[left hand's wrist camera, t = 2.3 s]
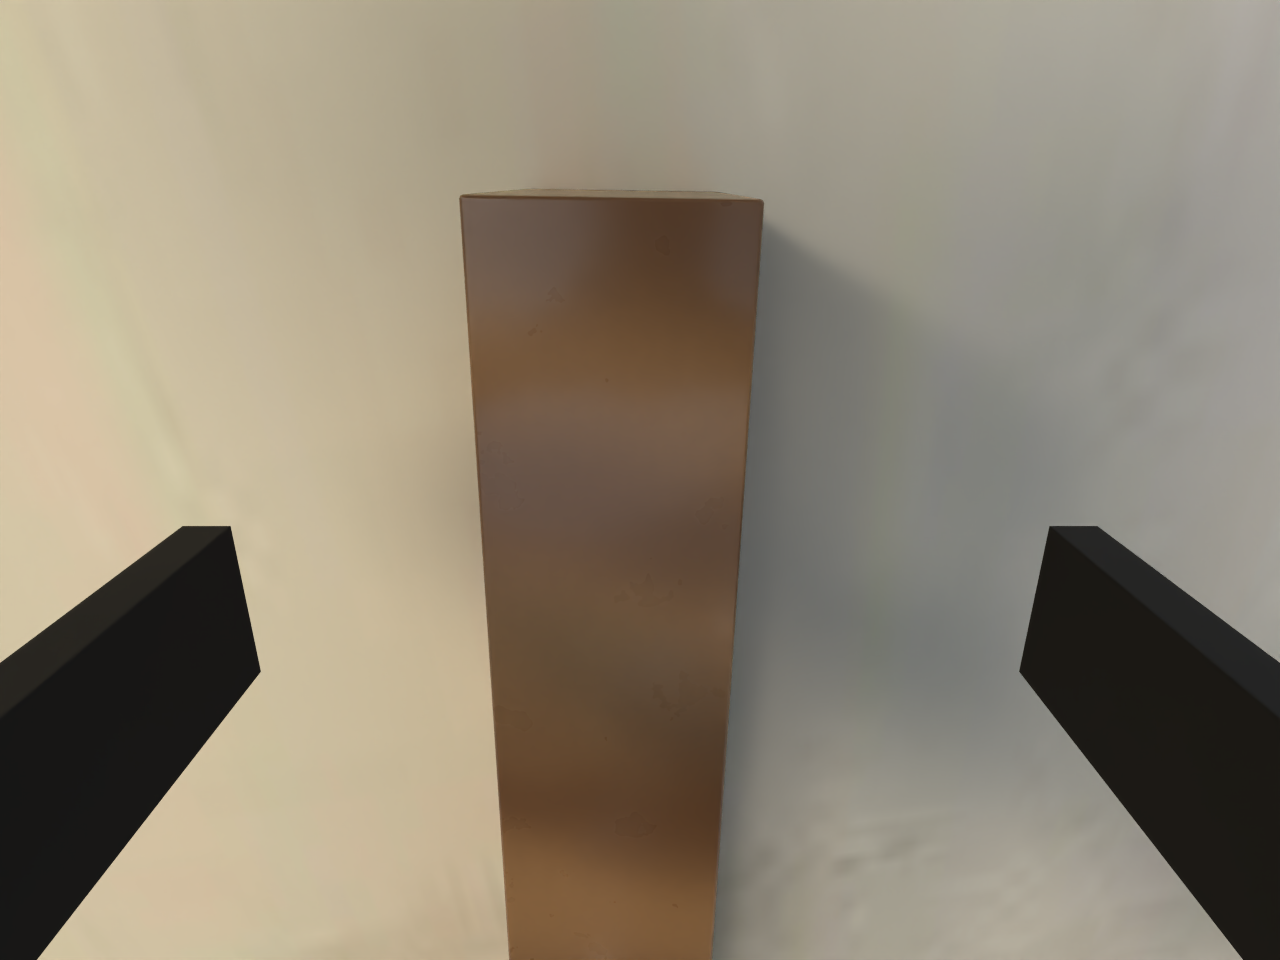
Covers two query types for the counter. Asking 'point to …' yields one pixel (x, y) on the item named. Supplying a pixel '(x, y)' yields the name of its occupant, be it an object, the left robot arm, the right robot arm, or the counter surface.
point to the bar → (611, 549)
